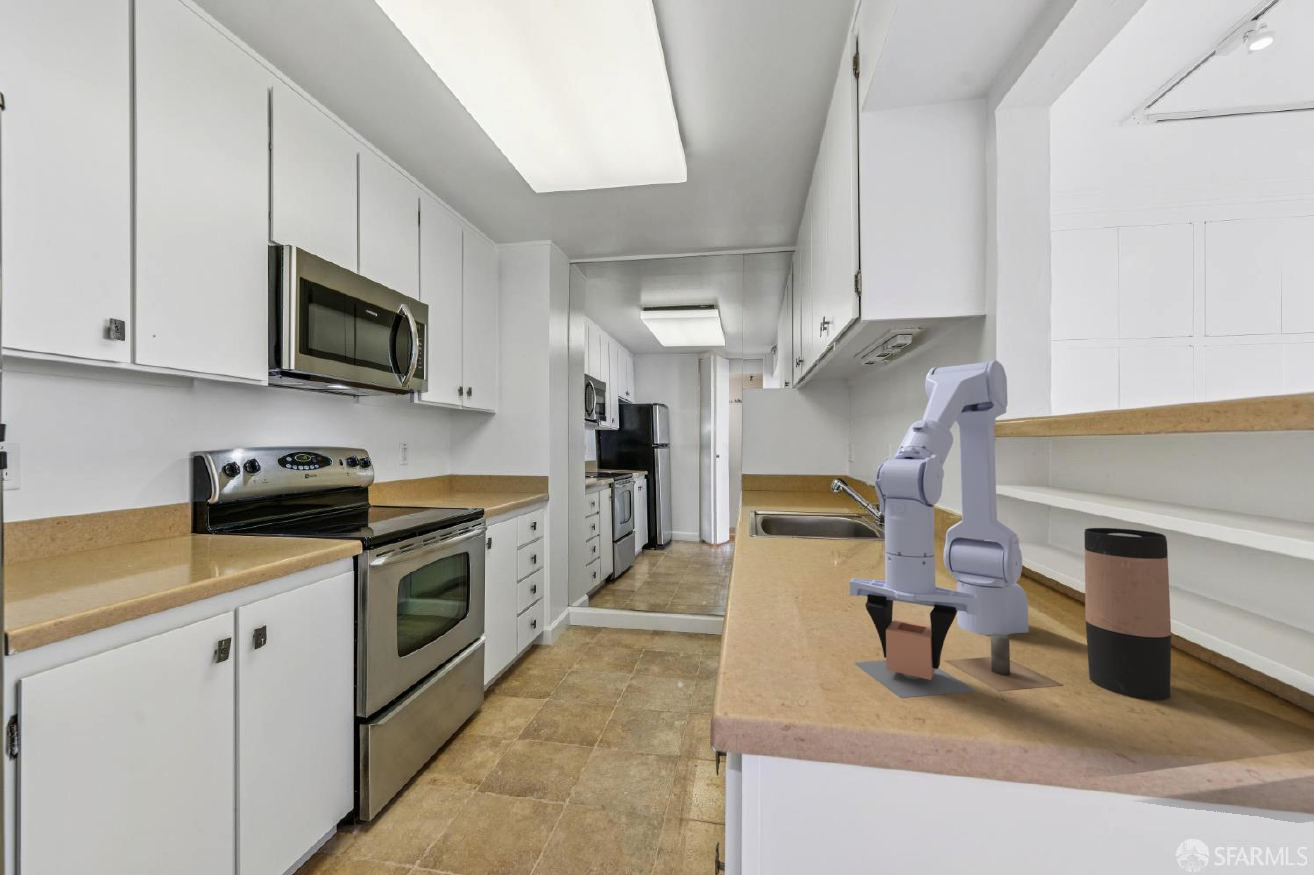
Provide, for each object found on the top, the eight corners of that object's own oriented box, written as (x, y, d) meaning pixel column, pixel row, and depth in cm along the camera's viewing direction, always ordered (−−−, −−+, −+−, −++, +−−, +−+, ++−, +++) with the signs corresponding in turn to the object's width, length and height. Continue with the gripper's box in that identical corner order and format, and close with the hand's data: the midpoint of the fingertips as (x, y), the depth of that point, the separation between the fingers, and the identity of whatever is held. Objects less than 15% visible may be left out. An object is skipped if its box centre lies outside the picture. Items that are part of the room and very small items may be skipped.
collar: (894, 656, 69) (894, 619, 69) (936, 665, 66) (936, 626, 66) (886, 669, 65) (885, 629, 65) (931, 679, 62) (930, 637, 62)
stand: (1002, 666, 71) (1001, 623, 71) (1063, 697, 62) (1062, 647, 63) (944, 671, 70) (943, 627, 70) (999, 703, 61) (998, 652, 61)
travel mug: (1071, 683, 66) (1067, 527, 67) (1132, 684, 66) (1128, 527, 66) (1123, 713, 58) (1118, 537, 59) (1193, 714, 58) (1187, 537, 59)
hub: (920, 668, 71) (919, 624, 71) (977, 703, 61) (976, 652, 61) (853, 673, 69) (853, 628, 69) (901, 710, 59) (900, 658, 59)
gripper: (842, 551, 66) (843, 657, 66) (973, 565, 58) (975, 687, 58) (856, 543, 72) (858, 641, 72) (978, 555, 64) (980, 666, 63)
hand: (911, 660), depth 65 cm, fingers closed on collar, 5 cm apart
